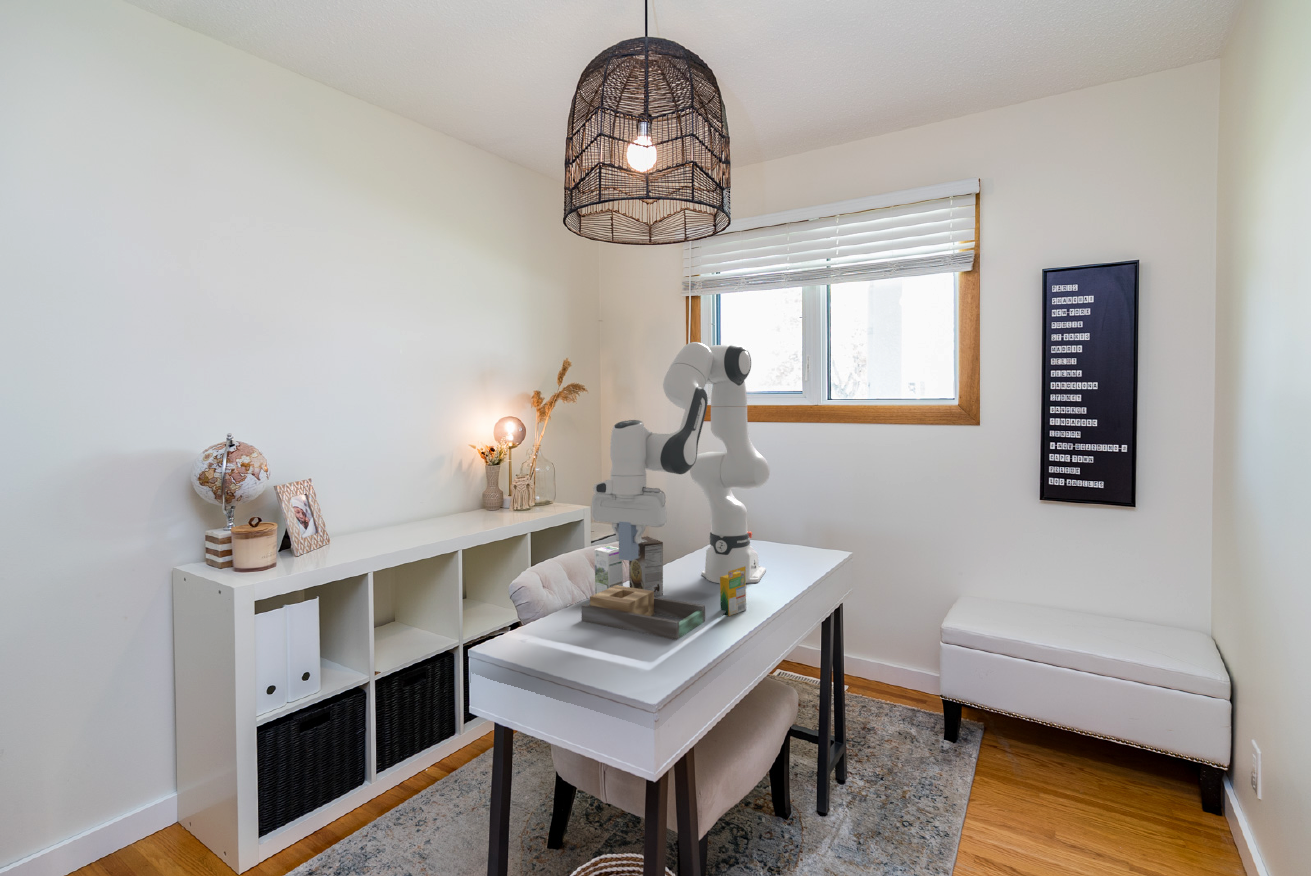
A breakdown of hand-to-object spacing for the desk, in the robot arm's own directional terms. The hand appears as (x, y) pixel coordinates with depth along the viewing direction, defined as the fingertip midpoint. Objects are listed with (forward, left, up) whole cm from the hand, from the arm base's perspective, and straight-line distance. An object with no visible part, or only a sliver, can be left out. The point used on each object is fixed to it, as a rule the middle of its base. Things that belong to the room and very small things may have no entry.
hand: (628, 542), depth 158 cm
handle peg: (0, 0, -4) cm, 4 cm away
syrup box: (-12, -14, -20) cm, 27 cm away
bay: (+1, +5, -20) cm, 20 cm away
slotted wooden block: (+1, -1, -19) cm, 19 cm away
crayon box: (-19, +20, -20) cm, 34 cm away
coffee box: (-20, -7, -20) cm, 29 cm away
